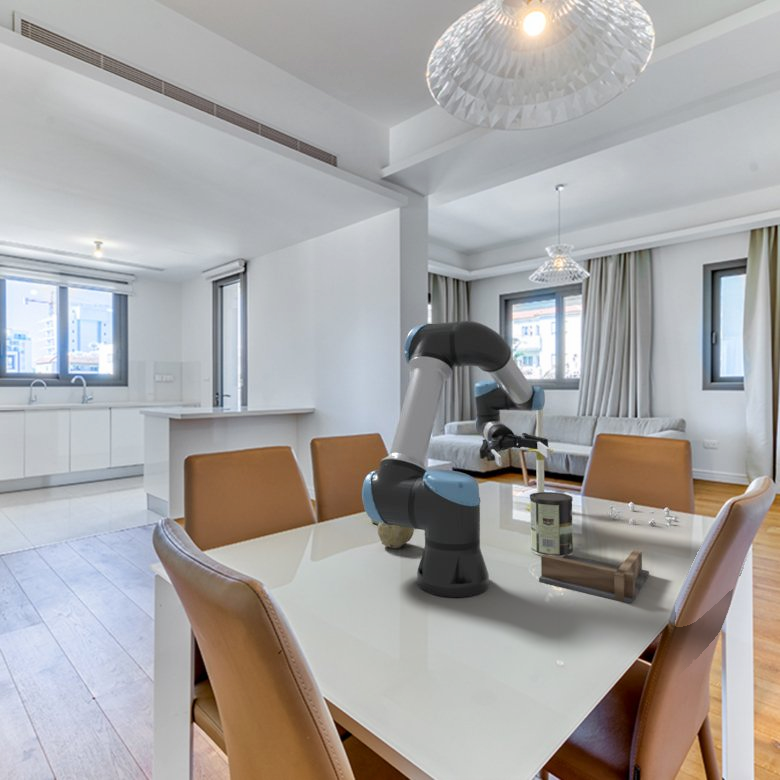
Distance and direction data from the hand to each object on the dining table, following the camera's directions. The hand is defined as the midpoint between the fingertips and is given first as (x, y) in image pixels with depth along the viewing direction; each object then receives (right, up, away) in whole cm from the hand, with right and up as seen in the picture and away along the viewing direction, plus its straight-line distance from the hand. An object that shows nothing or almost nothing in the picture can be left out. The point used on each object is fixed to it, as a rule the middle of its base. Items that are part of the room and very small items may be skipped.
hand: (524, 457), depth 131 cm
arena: (+8, -22, -25) cm, 35 cm away
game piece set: (+43, -23, +22) cm, 53 cm away
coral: (-36, -23, -3) cm, 43 cm away
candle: (+15, -23, +35) cm, 44 cm away
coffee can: (+4, -23, -9) cm, 25 cm away
